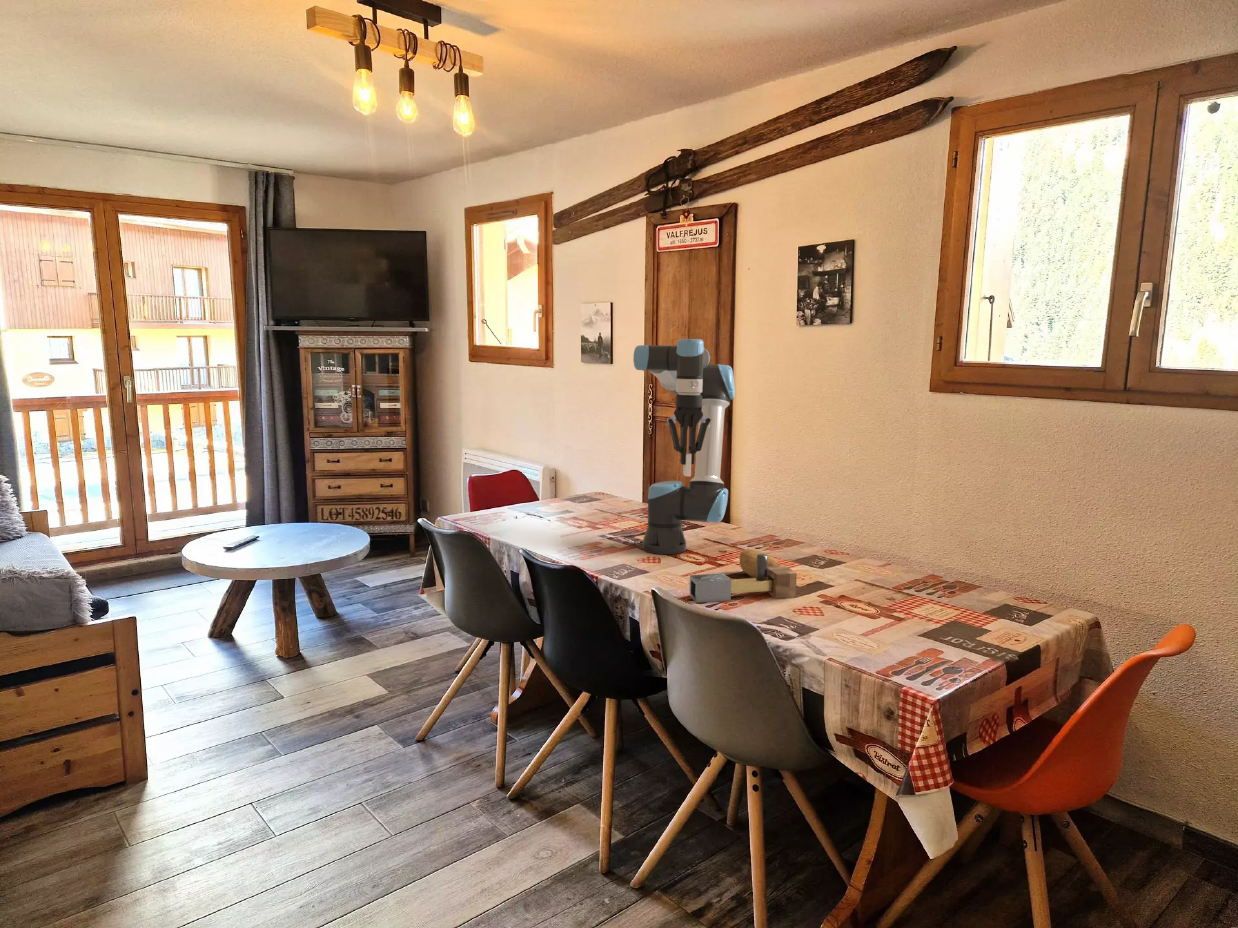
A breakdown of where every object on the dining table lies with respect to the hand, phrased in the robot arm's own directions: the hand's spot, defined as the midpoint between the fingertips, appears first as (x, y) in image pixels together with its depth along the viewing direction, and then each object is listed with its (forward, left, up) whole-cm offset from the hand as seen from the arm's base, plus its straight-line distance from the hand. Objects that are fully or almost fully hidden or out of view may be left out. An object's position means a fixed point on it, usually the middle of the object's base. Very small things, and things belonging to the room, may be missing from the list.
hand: (686, 475), depth 223 cm
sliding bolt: (+14, +15, -31) cm, 37 cm away
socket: (+14, +24, -32) cm, 43 cm away
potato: (-1, +24, -33) cm, 40 cm away
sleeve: (+14, +3, -32) cm, 35 cm away
